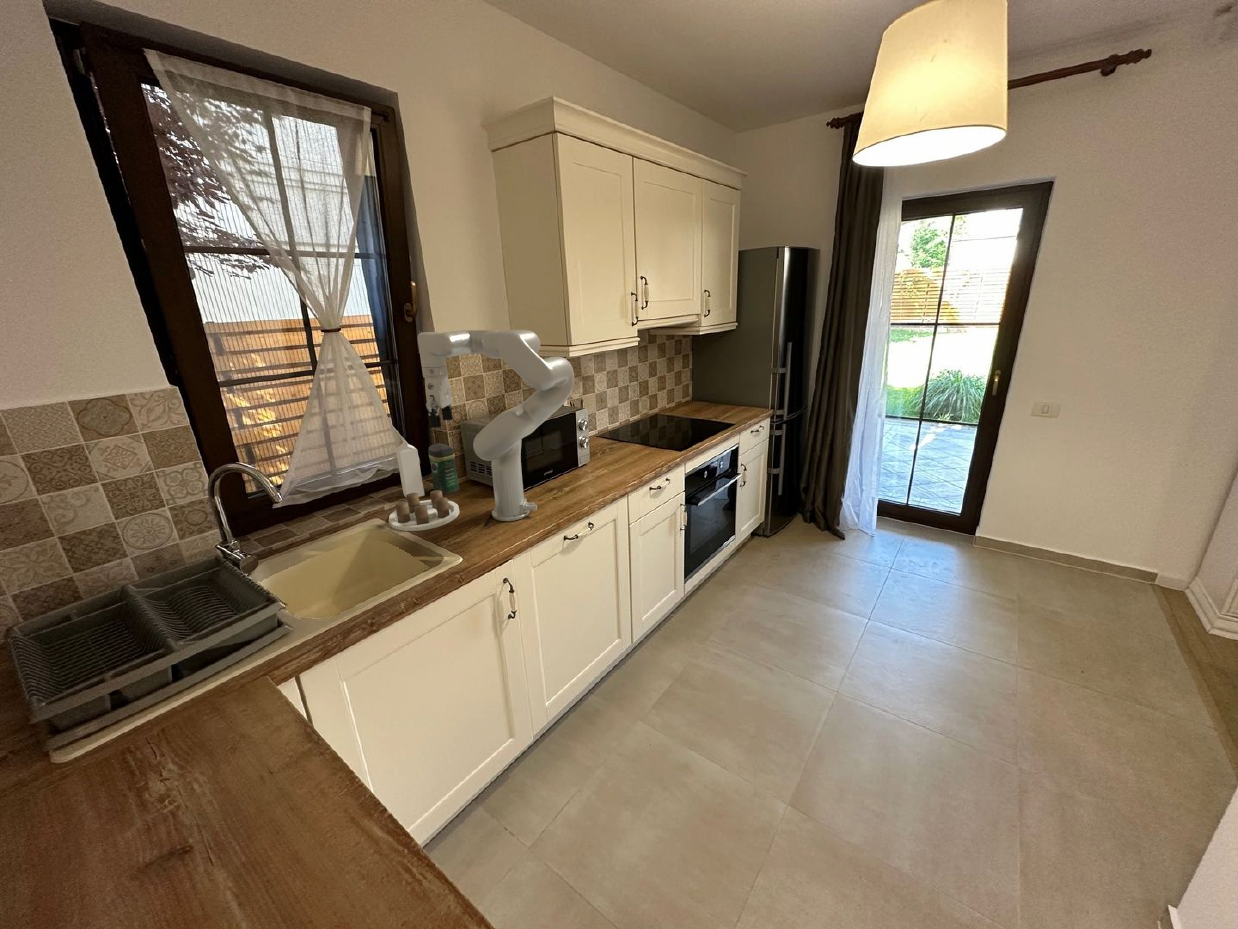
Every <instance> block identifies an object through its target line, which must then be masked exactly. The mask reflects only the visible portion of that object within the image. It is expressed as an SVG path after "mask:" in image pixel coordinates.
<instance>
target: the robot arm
mask: <svg viewBox="0 0 1238 929" xmlns="http://www.w3.org/2000/svg"><path fill="white" fill-rule="evenodd" d="M417 343H418V344H417V345H418V350H419V357H420V364H421V370H422V376H423V377H422V378H424V386H425V388H424V389H425V396H426V398H425V399H426V403H425V407H426V409H427V412H428V416H429V422H430V427H431V428H441V427H442V421H441V415H442V420H443V421H452V420H454V418H453V412H452V403H453V401H454V400H453V395H452V388H451V384H450V380H449V374H448V366H447V360H446V359H447V358H452V357H457V356H461V355H472V354H473V355H485V356H486V357H487V358H489V359H493V360H494V359H495V360H496V359H497V360H500V359H501V360H502V359H503V361H504V363H506V364H507V365H508V366H509V368H511V369H512V370H513V371H514V372H515V373H516V374H517V375H518V376H519V377H520V378H521V379H522V380H523V381H524V382H525V383H526V384H528V386H530V387H531V388H533V389H534V390H535V391H534V392H533V393H532V394H530V396H529V397H528V398H527V399H525V400H524V401H523V402H522V403H520V404H518V405H515V406H513V407H512V408H509V409H507V410H504V411H502V412H501V413H499V414H497V416H496V417H495V418H493V419H492V420H491V421H490V422H489V423H488V424H486V426H484V427H483V428H482V429H481V430H480V431H479V432H478V433H477V434H476V436H475V437H474V439H473V442H472V443H473V451H474V453H475V455H476V456H477V457H478V458H480V459H481V460H484V461H488V462H490V461H491V477H492V484H493V494H494V502H495V503H494V505H495V508H494V509H492V510H491V517H492V518H493V519H495V520H497V521H501V522H512V521H513V522H514V521H518V520H521V519H523V518H525V517H527V516H528V515H529V514H530V511H537V510H538V505H537V504H536V503H535V502H528V501H527V497H525V496H524V495H525V494H524V484H523V474H522V462H521V460H522V459H521V458H522V456H521V453H522V452H521V450H522V439H523V438H526V437H527V436H529V435H531V434H533V433H534V432H535V430H536V429H538V428H539V426H541V425H542V424H543V423H544V422H545V421H547V420H548V419H549V418H550V417H551V416H552V415H553V414H555V413H556V412H557V411H558V410H559V409H560V408H561V407H562V406H563V405H564V404H565V403H566V402H567V400H568V399H569V398H570V396H571V394H572V392H573V390H574V387H575V373H574V372H575V371H574V368H573V365H572V364H571V362H570V361H569V360H567V359H566V358H564V357H563V356H550V357H545V358H542V357H540V356H539V354H538V353H539V352H540V350H541V340H540V338H539V336H538V335H537V334H536V333H535V332H533V331H532V330H529V329H487V330H485V329H481V330H480V329H479V330H478V329H477V330H476V329H473V330H472V329H469V330H468V329H467V330H465V329H462V330H460V329H459V330H451V331H443V332H438V331H426V332H420V333H419V334H418V335H417ZM440 409H441V415H440Z"/></svg>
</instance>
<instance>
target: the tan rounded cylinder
mask: <svg viewBox="0 0 1238 929" xmlns="http://www.w3.org/2000/svg"><path fill="white" fill-rule="evenodd" d="M435 501H436V508H437V514H438V518H445V517H447V516H449V515H450V512H449V506H448V501H449V499H448V497H445V496H443V497H440V498H437V499H436V500H435Z"/></svg>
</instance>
